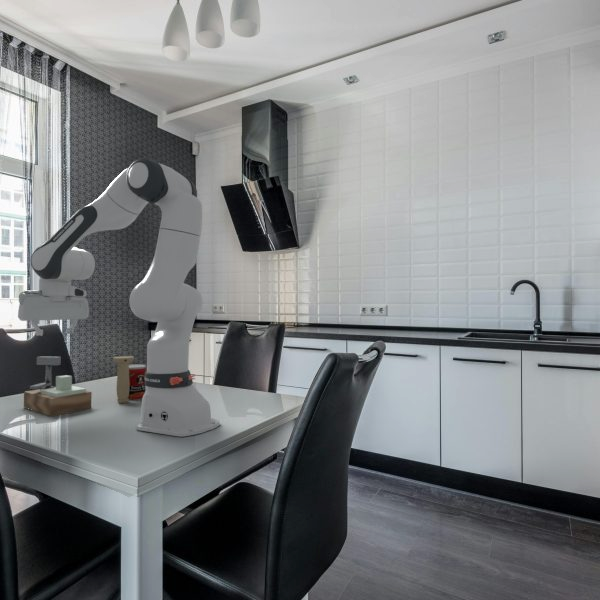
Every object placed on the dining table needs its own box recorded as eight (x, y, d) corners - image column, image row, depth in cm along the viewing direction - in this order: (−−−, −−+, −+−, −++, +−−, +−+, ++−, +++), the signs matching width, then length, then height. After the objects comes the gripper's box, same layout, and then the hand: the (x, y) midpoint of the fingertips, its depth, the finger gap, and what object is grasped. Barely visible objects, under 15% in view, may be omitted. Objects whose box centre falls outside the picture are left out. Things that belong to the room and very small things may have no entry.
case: (91, 407, 131) (91, 391, 131) (51, 416, 121) (51, 398, 121) (63, 400, 140) (63, 385, 140) (23, 407, 130) (24, 391, 130)
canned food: (130, 400, 141) (130, 368, 141) (117, 397, 146) (118, 366, 146) (150, 396, 147) (150, 365, 147) (137, 393, 152) (138, 363, 152)
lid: (85, 392, 130) (86, 375, 130) (56, 397, 123) (56, 379, 123) (70, 389, 135) (70, 373, 135) (40, 393, 128) (41, 376, 128)
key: (43, 393, 127) (44, 359, 127) (22, 392, 128) (23, 359, 128) (61, 388, 135) (62, 356, 135) (41, 387, 136) (42, 356, 136)
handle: (110, 402, 139) (111, 357, 139) (130, 399, 142) (131, 355, 143) (114, 405, 135) (115, 358, 135) (135, 402, 139) (135, 357, 139)
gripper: (23, 289, 122) (23, 336, 122) (91, 291, 139) (91, 333, 139) (14, 290, 126) (13, 336, 126) (81, 292, 143) (81, 332, 143)
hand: (55, 334), depth 132 cm, fingers open, 8 cm apart
